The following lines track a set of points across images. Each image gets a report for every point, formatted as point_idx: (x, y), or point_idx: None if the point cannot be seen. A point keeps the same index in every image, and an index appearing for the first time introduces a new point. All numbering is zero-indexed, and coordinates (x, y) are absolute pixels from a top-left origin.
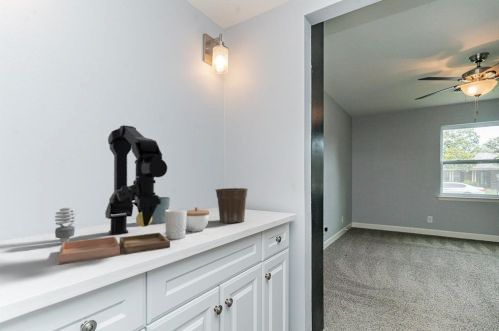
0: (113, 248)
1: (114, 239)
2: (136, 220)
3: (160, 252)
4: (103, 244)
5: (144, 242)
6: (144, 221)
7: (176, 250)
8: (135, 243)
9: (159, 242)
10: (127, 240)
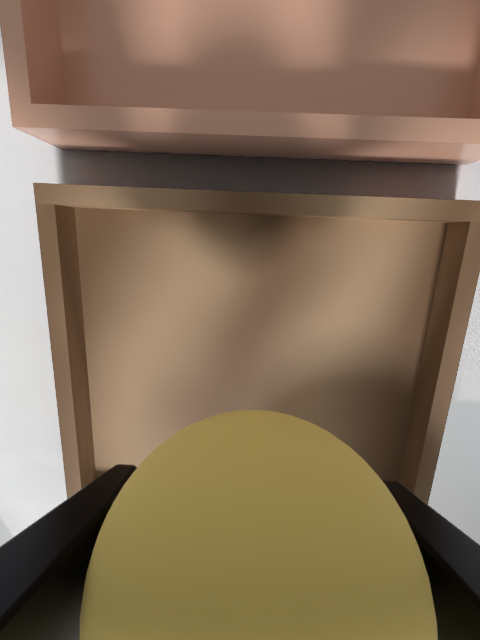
0: (15, 66)
1: (361, 118)
2: (234, 429)
3: (3, 409)
4: (461, 38)
5: (260, 379)
6: (54, 519)
7: (4, 495)
8: (273, 312)
9: (63, 455)
10: (433, 274)
